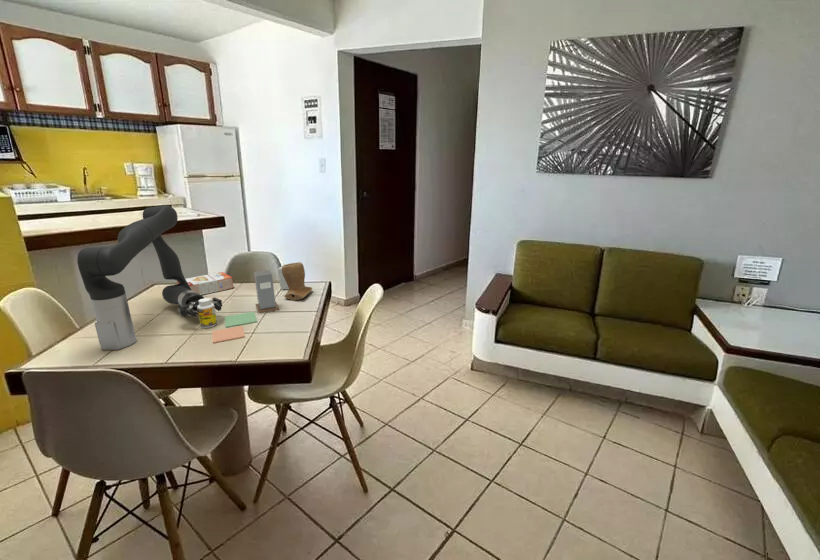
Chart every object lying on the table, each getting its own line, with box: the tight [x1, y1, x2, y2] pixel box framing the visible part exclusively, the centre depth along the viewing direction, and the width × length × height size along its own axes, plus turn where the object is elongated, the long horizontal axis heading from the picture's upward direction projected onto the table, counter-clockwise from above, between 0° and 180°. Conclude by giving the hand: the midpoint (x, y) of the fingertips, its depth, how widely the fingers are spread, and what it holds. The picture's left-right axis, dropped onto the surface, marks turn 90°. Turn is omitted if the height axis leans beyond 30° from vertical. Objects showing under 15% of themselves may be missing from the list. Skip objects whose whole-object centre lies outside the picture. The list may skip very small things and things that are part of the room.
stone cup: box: [281, 261, 313, 301], centre depth 178 cm, size 15×12×15 cm
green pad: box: [223, 311, 258, 329], centre depth 154 cm, size 11×11×1 cm
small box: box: [277, 265, 289, 291], centre depth 190 cm, size 8×6×10 cm
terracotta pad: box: [211, 325, 246, 344], centre depth 141 cm, size 10×10×1 cm
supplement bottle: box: [197, 297, 218, 329], centre depth 147 cm, size 6×6×10 cm
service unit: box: [253, 269, 280, 314], centre depth 163 cm, size 9×8×15 cm
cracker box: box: [176, 271, 234, 296], centre depth 189 cm, size 14×6×21 cm
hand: (207, 311), depth 146 cm, fingers open, 8 cm apart
